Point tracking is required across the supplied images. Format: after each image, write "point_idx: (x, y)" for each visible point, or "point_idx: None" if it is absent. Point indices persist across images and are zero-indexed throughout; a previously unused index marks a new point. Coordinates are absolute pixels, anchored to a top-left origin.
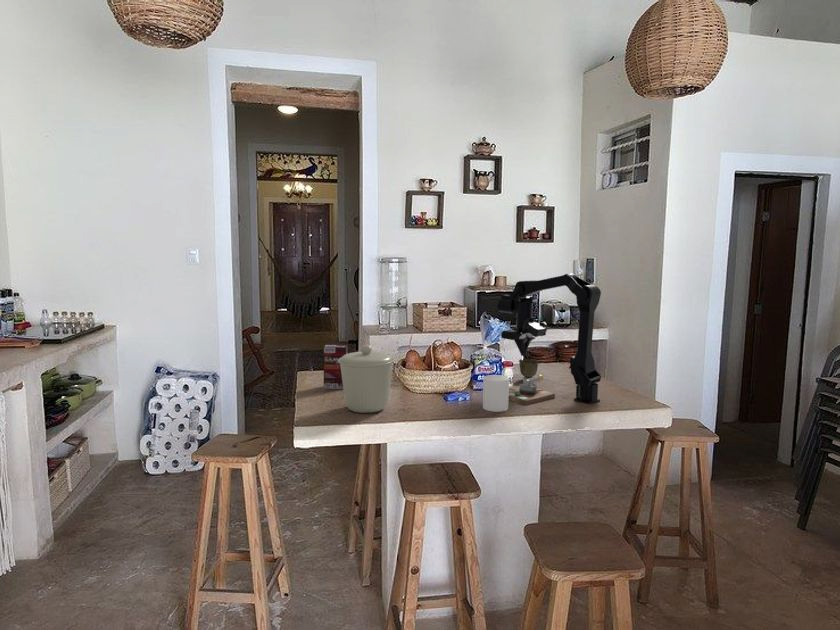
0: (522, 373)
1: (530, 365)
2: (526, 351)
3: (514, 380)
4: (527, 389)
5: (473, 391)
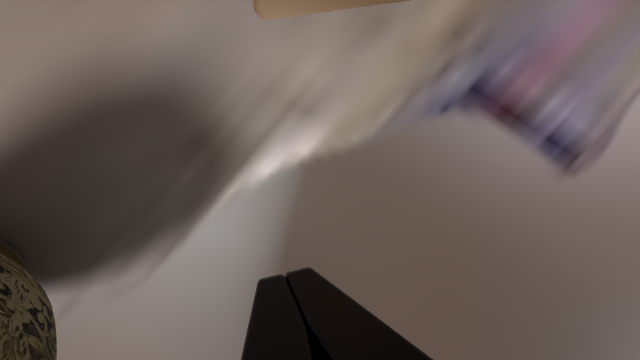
0: (51, 307)
1: None
2: (247, 351)
3: (125, 289)
4: None
5: (597, 133)
